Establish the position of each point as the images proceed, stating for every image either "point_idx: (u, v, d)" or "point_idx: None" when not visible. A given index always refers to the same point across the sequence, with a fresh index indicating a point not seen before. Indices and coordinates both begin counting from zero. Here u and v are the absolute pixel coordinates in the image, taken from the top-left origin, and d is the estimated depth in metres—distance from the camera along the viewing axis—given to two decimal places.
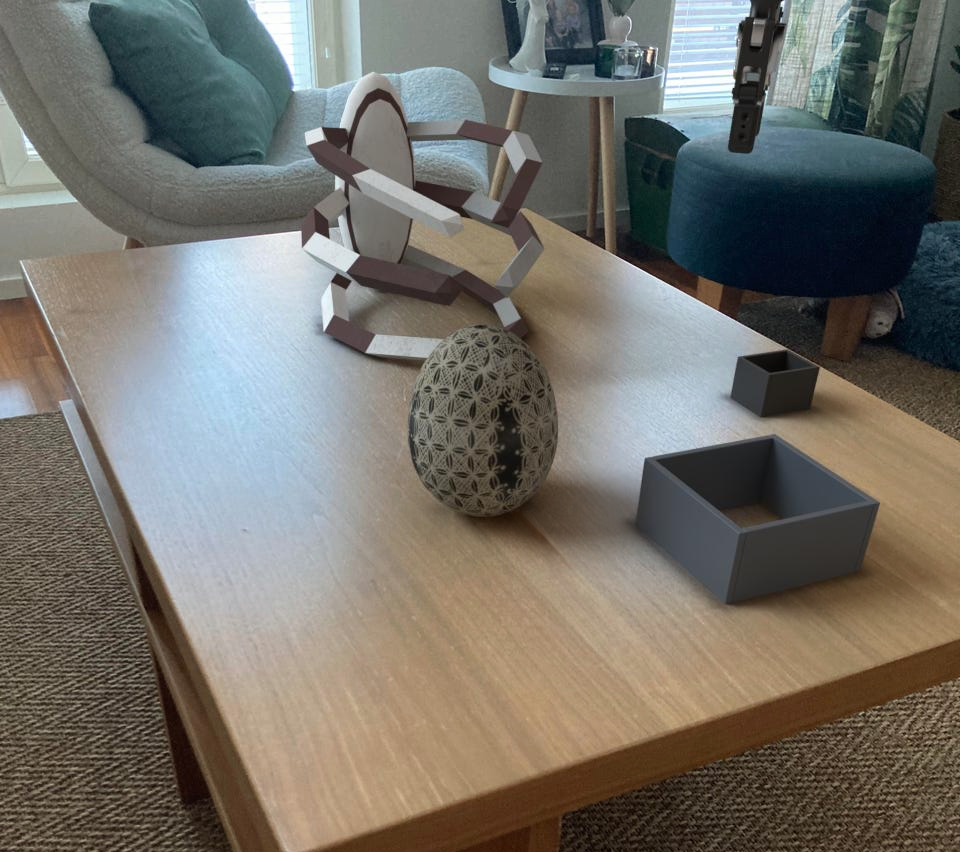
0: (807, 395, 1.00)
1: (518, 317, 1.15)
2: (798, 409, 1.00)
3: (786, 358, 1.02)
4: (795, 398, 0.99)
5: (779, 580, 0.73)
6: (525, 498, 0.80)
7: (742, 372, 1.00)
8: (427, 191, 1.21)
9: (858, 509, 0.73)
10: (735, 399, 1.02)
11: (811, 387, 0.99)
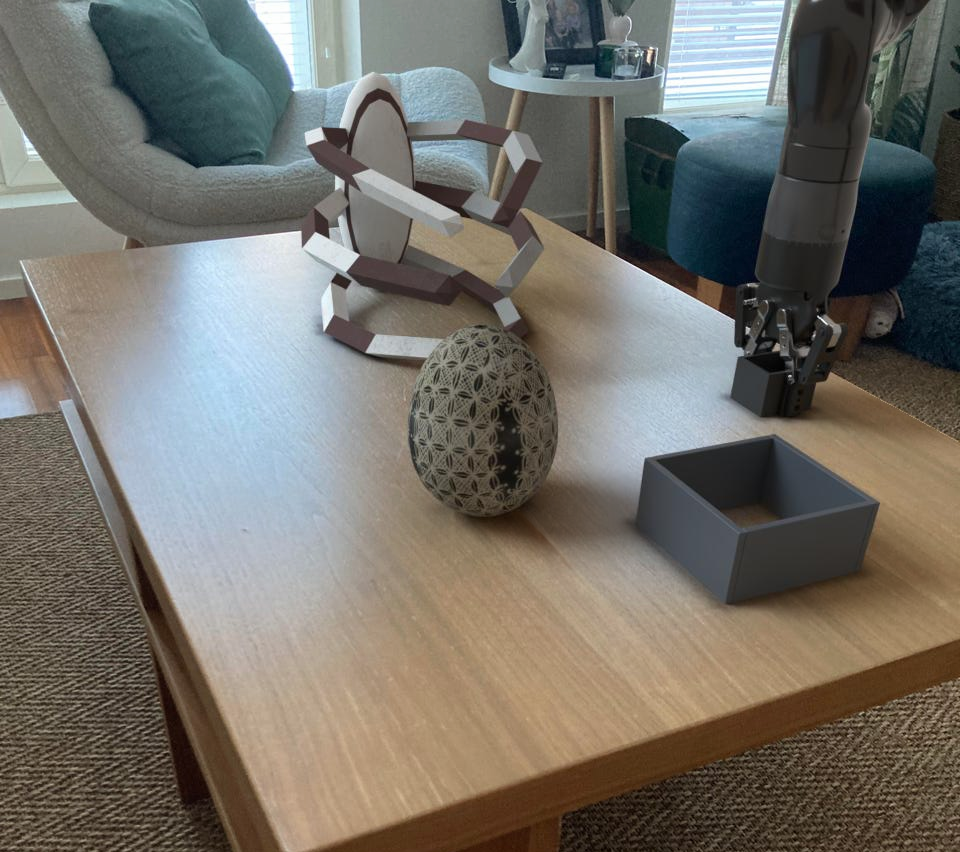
0: (807, 395, 1.00)
1: (518, 317, 1.15)
2: None
3: None
4: None
5: (779, 580, 0.73)
6: (525, 498, 0.80)
7: (742, 372, 1.00)
8: (427, 191, 1.21)
9: (858, 509, 0.73)
10: (735, 399, 1.02)
11: (811, 387, 0.99)
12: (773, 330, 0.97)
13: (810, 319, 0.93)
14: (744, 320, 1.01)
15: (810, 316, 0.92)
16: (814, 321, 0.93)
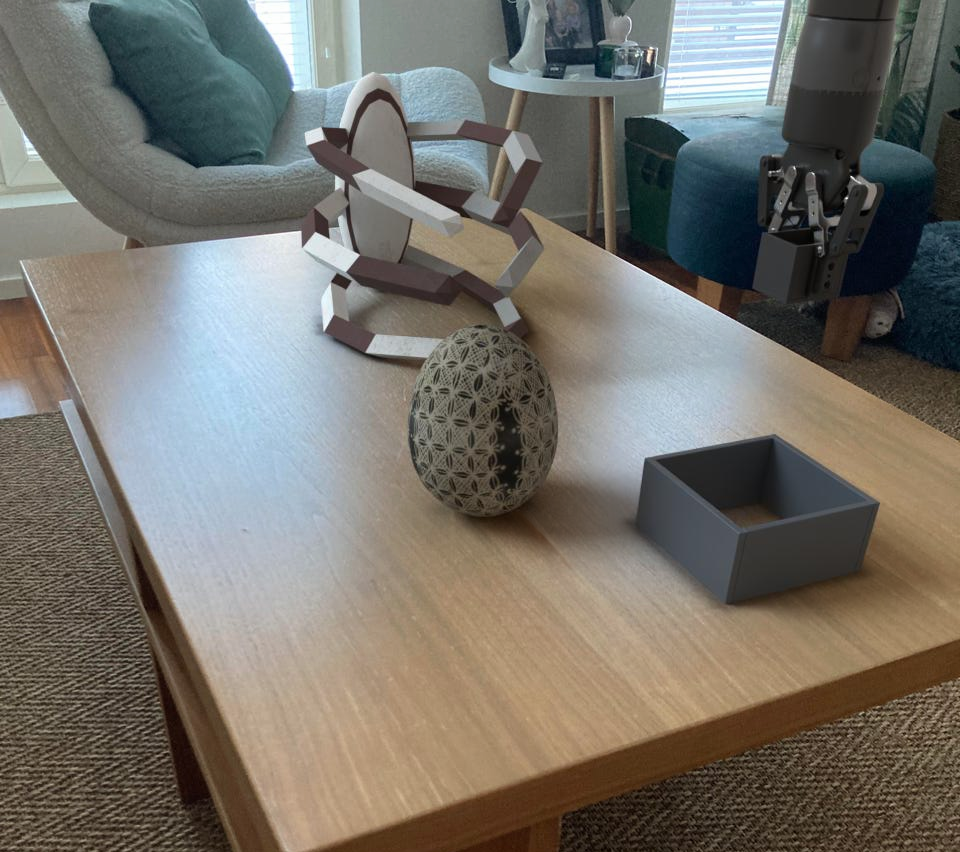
0: (837, 273, 0.92)
1: (518, 317, 1.15)
2: None
3: None
4: None
5: (779, 580, 0.73)
6: (525, 498, 0.80)
7: (767, 249, 0.92)
8: (427, 191, 1.21)
9: (858, 509, 0.73)
10: (759, 281, 0.94)
11: (842, 264, 0.92)
12: (801, 200, 0.90)
13: (842, 180, 0.85)
14: (769, 194, 0.94)
15: (842, 177, 0.85)
16: (846, 183, 0.86)
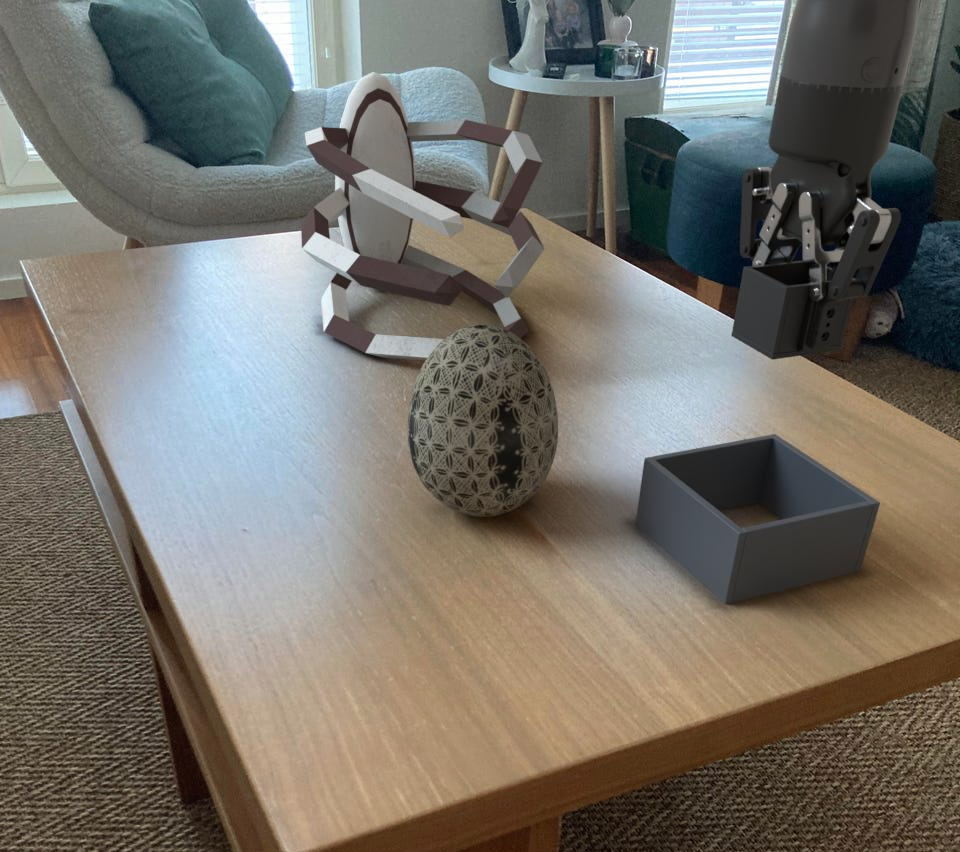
0: (839, 320, 0.72)
1: (518, 317, 1.15)
2: None
3: None
4: None
5: (779, 580, 0.73)
6: (525, 498, 0.80)
7: (749, 288, 0.72)
8: (427, 191, 1.21)
9: (858, 509, 0.73)
10: (740, 327, 0.74)
11: (845, 308, 0.72)
12: (793, 227, 0.70)
13: (846, 204, 0.65)
14: (753, 218, 0.74)
15: (846, 199, 0.65)
16: (852, 208, 0.65)
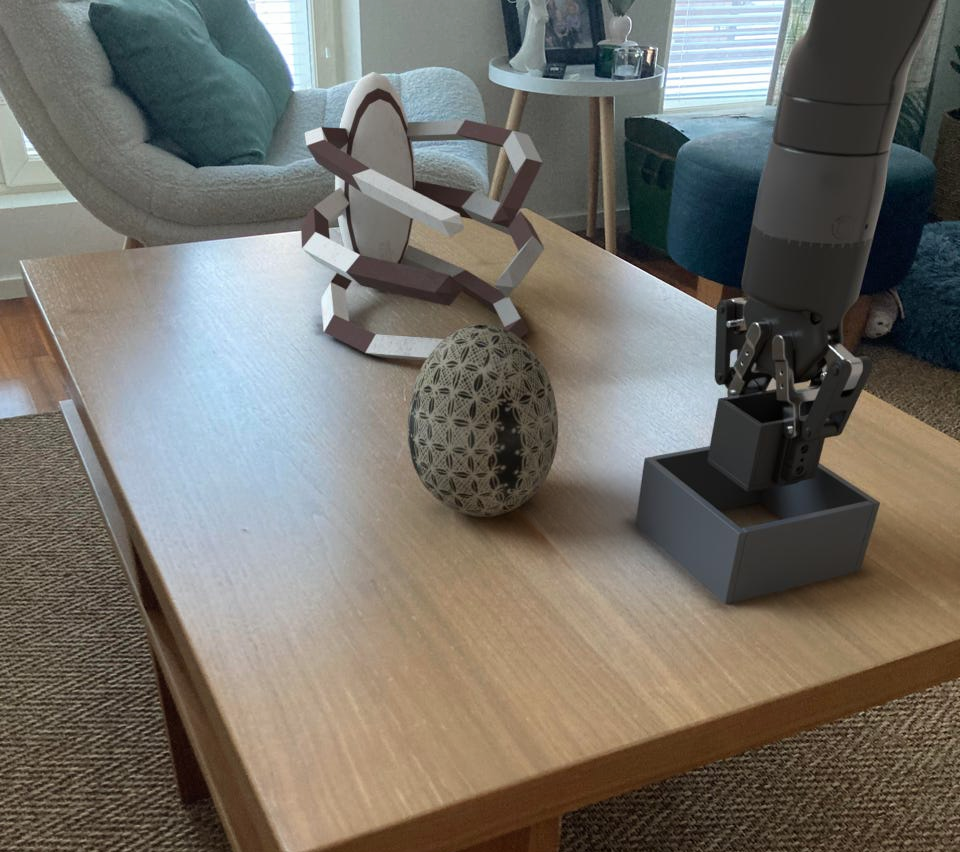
0: (813, 451, 0.73)
1: (518, 317, 1.15)
2: None
3: None
4: None
5: (779, 580, 0.73)
6: (525, 498, 0.80)
7: (724, 420, 0.73)
8: (427, 191, 1.21)
9: (858, 509, 0.73)
10: (715, 455, 0.75)
11: (819, 440, 0.72)
12: (767, 363, 0.70)
13: (819, 350, 0.66)
14: (728, 348, 0.74)
15: (819, 346, 0.66)
16: (824, 354, 0.66)
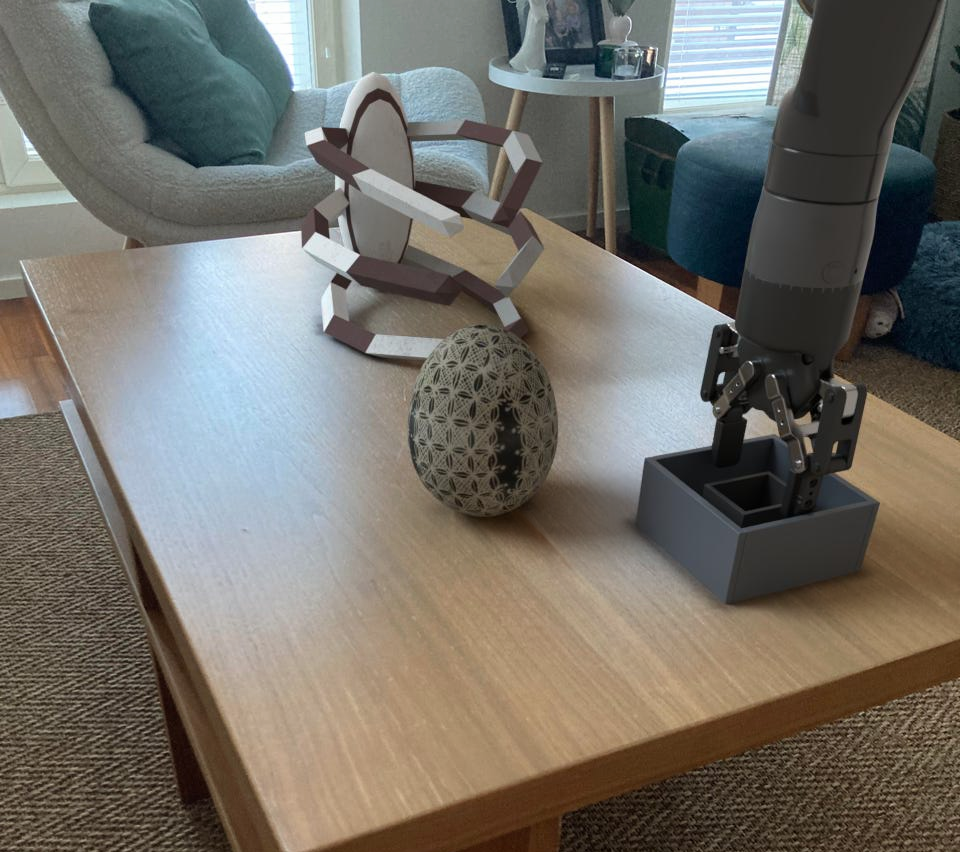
0: None
1: (518, 317, 1.15)
2: None
3: (767, 483, 0.79)
4: None
5: (779, 580, 0.73)
6: (525, 498, 0.80)
7: None
8: (427, 191, 1.21)
9: (858, 509, 0.73)
10: None
11: None
12: (760, 401, 0.72)
13: (810, 390, 0.67)
14: (717, 371, 0.76)
15: (810, 386, 0.67)
16: (815, 393, 0.67)
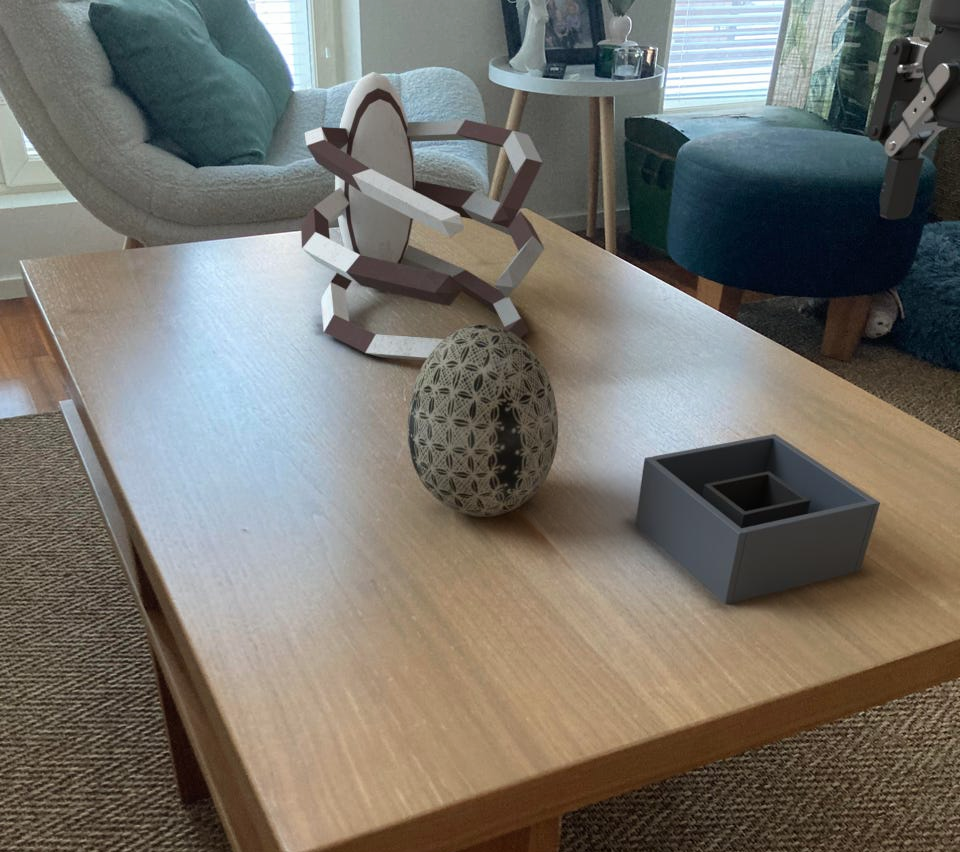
0: None
1: (518, 317, 1.15)
2: None
3: (767, 483, 0.79)
4: None
5: (779, 580, 0.73)
6: (525, 498, 0.80)
7: None
8: (427, 191, 1.21)
9: (858, 509, 0.73)
10: None
11: None
12: (954, 114, 0.62)
13: None
14: (892, 98, 0.66)
15: None
16: None
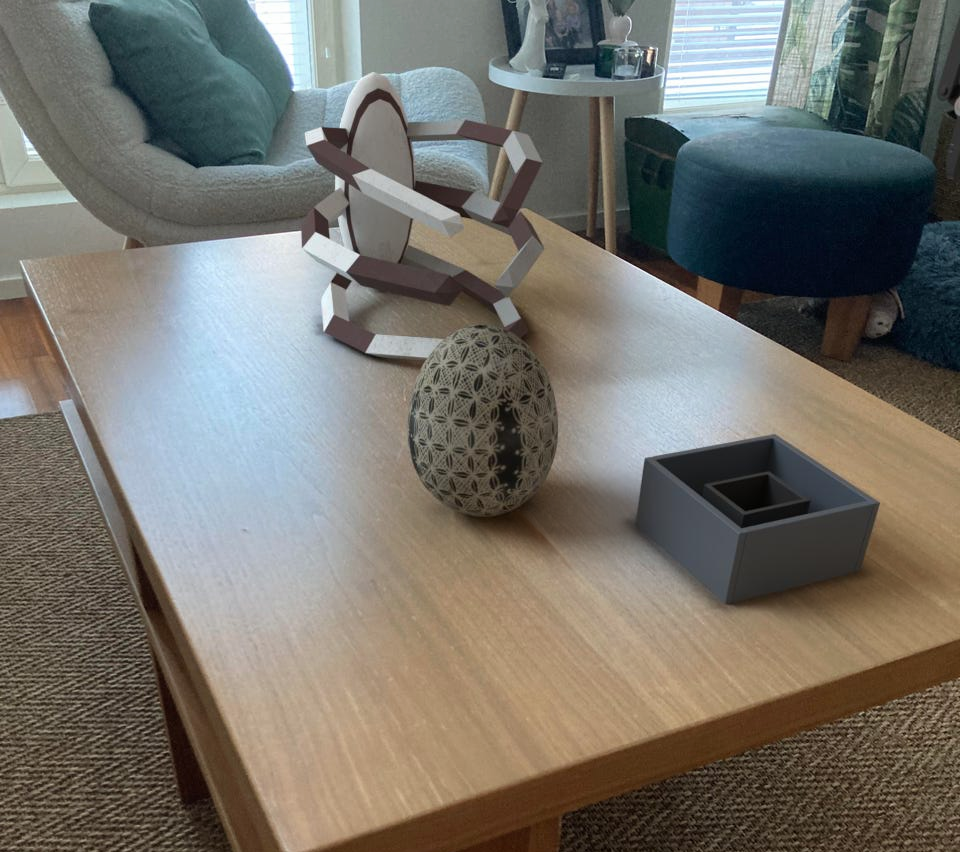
0: None
1: (518, 317, 1.15)
2: None
3: (767, 483, 0.79)
4: None
5: (779, 580, 0.73)
6: (525, 498, 0.80)
7: None
8: (427, 191, 1.21)
9: (858, 509, 0.73)
10: None
11: None
12: None
13: None
14: None
15: None
16: None
